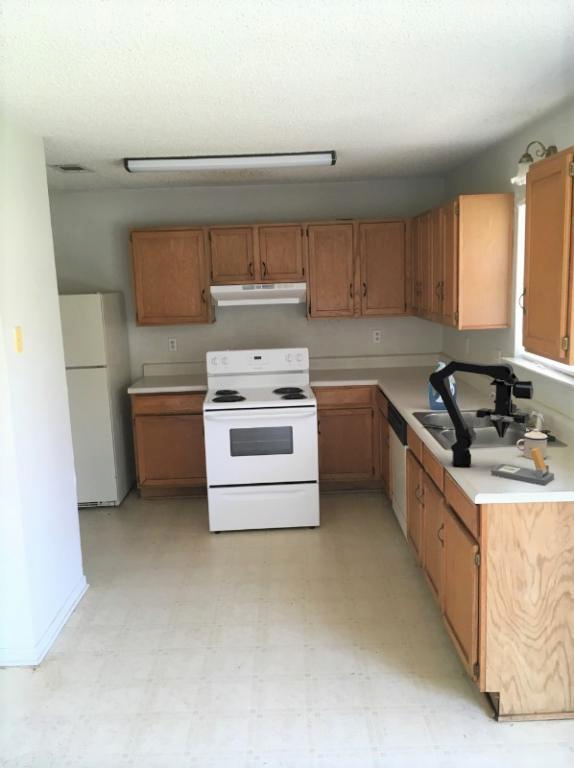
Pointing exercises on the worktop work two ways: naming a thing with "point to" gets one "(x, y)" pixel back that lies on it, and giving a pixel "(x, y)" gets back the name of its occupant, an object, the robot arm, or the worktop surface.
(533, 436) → the teacup with lid
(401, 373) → the worktop surface
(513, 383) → the robot arm
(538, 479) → the switch panel
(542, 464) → the orange lever
